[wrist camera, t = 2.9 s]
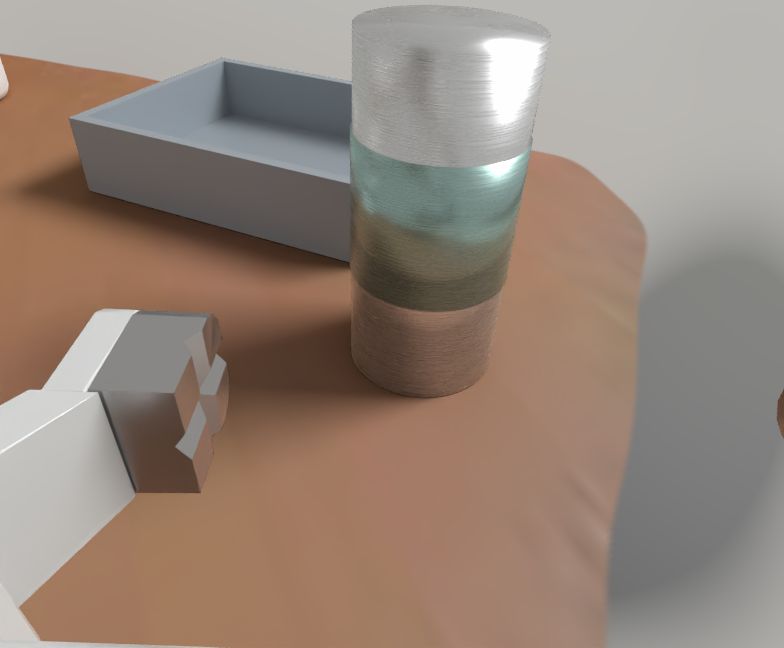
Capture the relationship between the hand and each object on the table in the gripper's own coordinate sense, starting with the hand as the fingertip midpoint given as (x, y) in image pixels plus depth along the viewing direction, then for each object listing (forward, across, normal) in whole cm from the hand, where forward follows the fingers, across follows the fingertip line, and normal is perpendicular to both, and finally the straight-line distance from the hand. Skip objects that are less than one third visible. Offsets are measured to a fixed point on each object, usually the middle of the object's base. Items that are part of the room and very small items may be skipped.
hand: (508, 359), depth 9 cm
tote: (+28, +8, +10) cm, 30 cm away
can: (+12, 0, +10) cm, 16 cm away
